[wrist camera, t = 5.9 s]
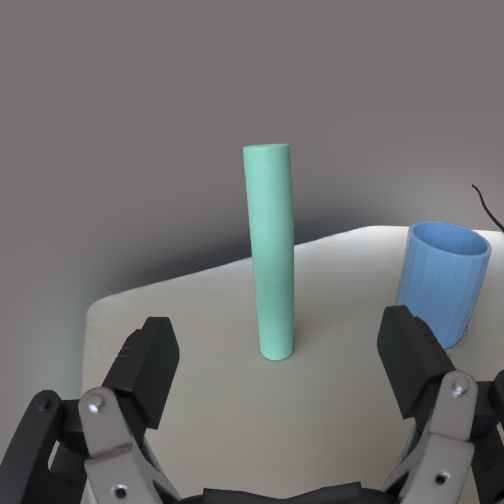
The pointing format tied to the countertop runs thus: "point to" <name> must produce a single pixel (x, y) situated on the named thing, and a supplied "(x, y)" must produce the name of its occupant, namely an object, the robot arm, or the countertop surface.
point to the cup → (443, 276)
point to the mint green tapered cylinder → (272, 245)
